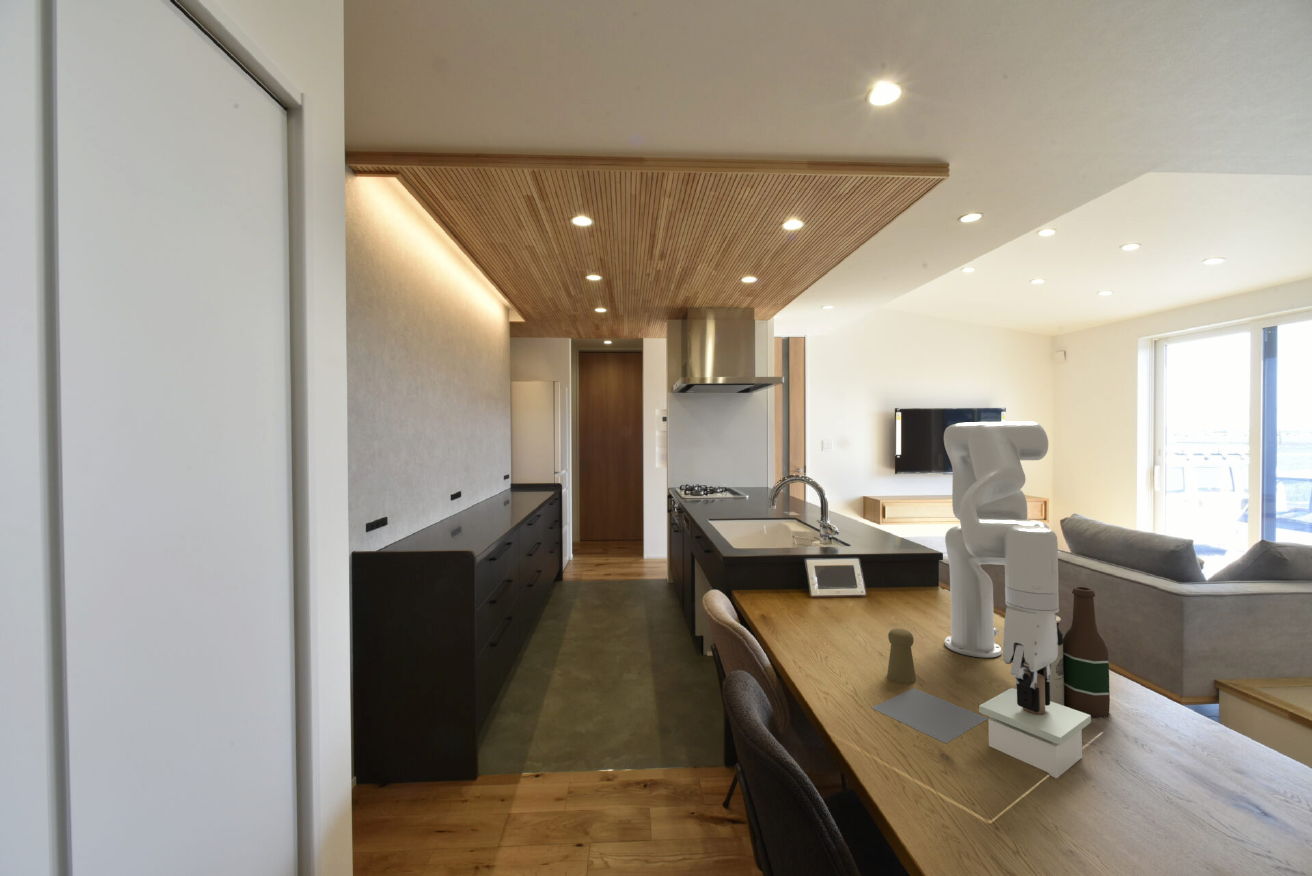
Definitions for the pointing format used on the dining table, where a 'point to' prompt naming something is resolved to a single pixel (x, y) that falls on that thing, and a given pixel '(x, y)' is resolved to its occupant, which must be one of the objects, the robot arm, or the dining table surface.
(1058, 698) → the travel mug
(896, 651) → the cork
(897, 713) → the mat
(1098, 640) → the beer bottle
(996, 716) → the lid
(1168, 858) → the dining table surface
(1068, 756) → the white open storage bin
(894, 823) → the dining table surface
